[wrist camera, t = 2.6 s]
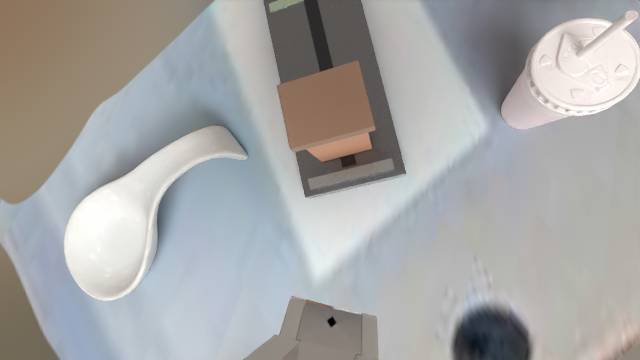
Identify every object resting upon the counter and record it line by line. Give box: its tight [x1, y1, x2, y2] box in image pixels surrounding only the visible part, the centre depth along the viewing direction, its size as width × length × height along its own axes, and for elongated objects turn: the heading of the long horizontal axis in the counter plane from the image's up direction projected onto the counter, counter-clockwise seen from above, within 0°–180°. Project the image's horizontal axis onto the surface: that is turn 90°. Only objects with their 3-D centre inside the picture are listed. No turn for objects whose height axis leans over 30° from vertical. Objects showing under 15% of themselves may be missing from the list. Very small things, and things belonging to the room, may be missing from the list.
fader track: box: [264, 0, 406, 198], centre depth 32 cm, size 26×10×4 cm, turn 12°
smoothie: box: [501, 10, 640, 129], centre depth 23 cm, size 6×6×14 cm
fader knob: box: [277, 60, 375, 162], centre depth 26 cm, size 5×6×9 cm
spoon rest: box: [64, 125, 248, 300], centre depth 33 cm, size 24×12×7 cm, turn 131°
